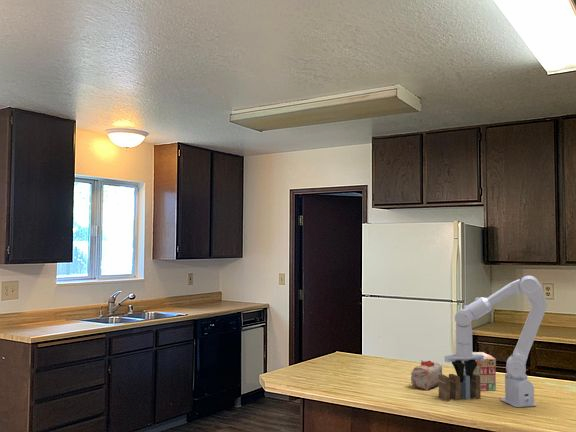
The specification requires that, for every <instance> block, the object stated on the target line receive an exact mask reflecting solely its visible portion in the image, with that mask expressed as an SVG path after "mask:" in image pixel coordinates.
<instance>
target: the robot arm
mask: <svg viewBox="0 0 576 432" xmlns="http://www.w3.org/2000/svg"><path fill="white" fill-rule="evenodd" d="M521 292H522V293H523V295H524V296H526V297H527V300H528V301H529V303H530V304H531V307H530V308H529V309H530V310H529V311H528V315H527V317H526V319H525V322H524V324H523V327H522V330H521V333H520V335H519V338H518V341H517V343H516V346H515V347H514V349H513V352H512V354H511V355H510V356H508V357H507V359H506V365H505V371H506V373H504V388H505V389H504V398H503V397H502V398H499V400H500V401H502V402H503V403H505V404H508V405H510V406H513V407H515V408H523V407H526V408H527V407H536V406H537V404H536V403H535V387H534V385H533V383H532V382H531V381H530V380H529V379H528V375H527V374H526V371H527V368H526V367H527V365H526V364H527V361H528V357H529V354H530V350H531V348H532V346H533V344H534V341H535V339H536V336H537V333H538V331H539V328H540V326H541V323H542V321H543V318H544V315H545V313H546V311H547V307H548V302H547V298H546V295H545V291H544V288H543V286H542V284H541V283H540V281H539V279H538V278H536V277H535V276H533V275H525V276H523V277H521V279H520V278H518V279H516V280H514V281H511V282H510V283H508V284H506V285H505V286H503V287H501V288H500V289H499V290H497V291H495V292H494V293H493V294H491V295H489V296H488V297H483V296H481V297H475V298H474V301H472V302H471V303H470V304H468V305H466V304H465V305H463V308H462V309H459V310H458V311H456V313H455V314H454V321H455V354H450V355H445V356H444V362H446V363H451V365H452V366H453V368H454V370H455V373H456V375H457V376H459V377H460V382H463V372H464V366H465V370H466V375H468V376H470V382H471V378H472V375H473V372H474V369H475V367H476V366H477V362H476V361H475V360H481V361H483V360H484V355H482V354H473V352H474V351H473V329H472V321H476V320H478V319H480V318H481V317H483V316H485V315H486V314H488V313H490V312H491V311H492V308H493V306H494V305H495V304H498V303H499V302H501V301H502V300H505V299H507V298H508V297H509V296H510V297H511V295H512V296H513V295H521ZM462 361H464V364H463V363H462Z"/></svg>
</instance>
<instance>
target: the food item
mask: <svg viewBox="0 0 576 432" xmlns="http://www.w3.org/2000/svg"><path fill="white" fill-rule="evenodd" d="M442 366H443V365H441V364H440V363H439V362H436V361H435V362H434V361H431V360H428V361H427V360H426V361H425V360H420V365H417V366H415V367H414V368H413V369H412V371H411V372H410V375H411V376H410V379H411V380H410V381H411V384H412V386H413V387H414V388H417V389H419V390H425V391H428V390H430V389H432V388H435V387H437V386H438V387H439V375H440V374H443V367H442Z"/></svg>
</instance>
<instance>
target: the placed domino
mask: <svg viewBox="0 0 576 432" xmlns="http://www.w3.org/2000/svg"><path fill="white" fill-rule="evenodd" d="M460 398H461V399H464V400H471V396H470V376H468V375H466V374H463V382H460Z"/></svg>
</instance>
